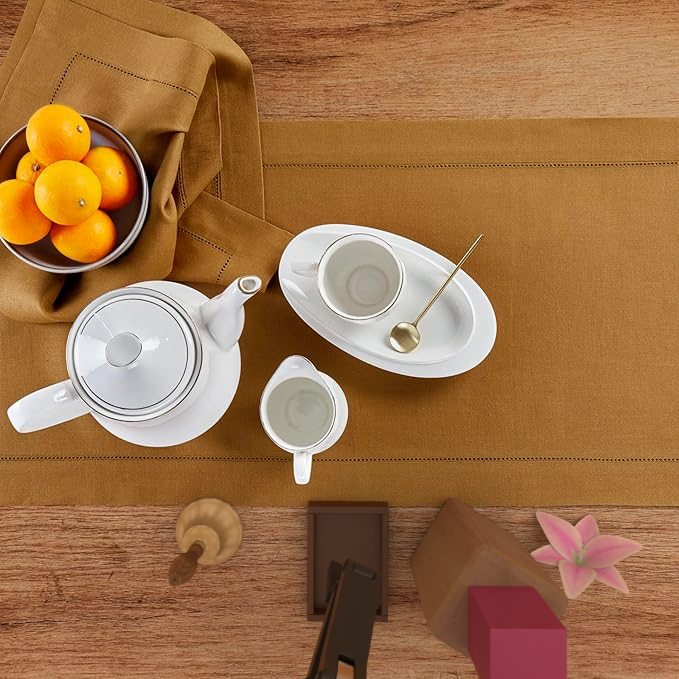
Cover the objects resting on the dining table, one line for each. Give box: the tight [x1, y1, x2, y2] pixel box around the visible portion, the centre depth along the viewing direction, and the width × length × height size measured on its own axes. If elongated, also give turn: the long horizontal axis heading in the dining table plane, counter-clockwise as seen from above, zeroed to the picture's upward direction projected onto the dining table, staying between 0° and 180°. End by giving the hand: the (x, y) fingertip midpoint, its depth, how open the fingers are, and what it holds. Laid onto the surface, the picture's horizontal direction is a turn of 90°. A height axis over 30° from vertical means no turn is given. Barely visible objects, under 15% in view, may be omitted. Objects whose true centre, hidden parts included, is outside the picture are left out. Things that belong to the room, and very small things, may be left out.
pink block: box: [468, 586, 568, 679], centre depth 55 cm, size 6×6×9 cm
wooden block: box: [409, 497, 570, 662], centre depth 70 cm, size 10×10×20 cm
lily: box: [529, 510, 644, 600], centre depth 76 cm, size 12×12×10 cm
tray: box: [306, 500, 390, 623], centre depth 78 cm, size 14×10×3 cm
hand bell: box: [167, 497, 244, 587], centre depth 72 cm, size 8×8×16 cm
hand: (311, 652), depth 50 cm, fingers open, 13 cm apart
